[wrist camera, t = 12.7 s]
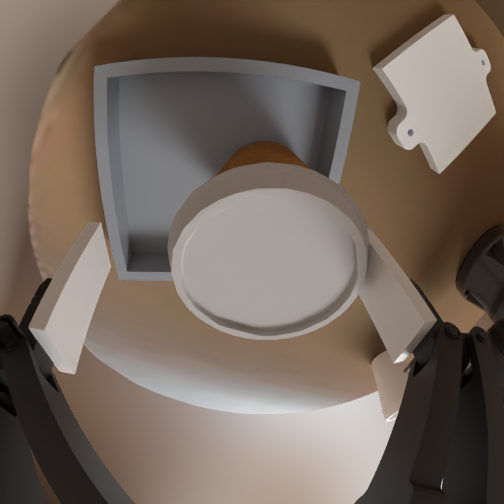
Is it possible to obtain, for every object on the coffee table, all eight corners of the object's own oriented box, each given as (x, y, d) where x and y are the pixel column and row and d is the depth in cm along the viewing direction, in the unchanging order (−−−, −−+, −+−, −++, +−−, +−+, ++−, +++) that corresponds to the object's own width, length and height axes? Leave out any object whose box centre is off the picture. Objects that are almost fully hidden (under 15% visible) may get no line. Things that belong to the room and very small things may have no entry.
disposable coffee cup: (181, 170, 21) (120, 264, 11) (277, 96, 17) (304, 119, 8) (254, 246, 25) (251, 362, 16) (343, 190, 22) (402, 292, 12)
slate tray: (340, 79, 18) (360, 81, 15) (302, 256, 28) (311, 279, 26) (111, 66, 15) (94, 66, 12) (126, 256, 25) (118, 279, 23)
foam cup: (357, 365, 47) (378, 421, 37) (395, 339, 44) (423, 396, 34) (375, 372, 52) (395, 420, 42) (409, 349, 48) (433, 397, 38)
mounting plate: (451, 8, 12) (463, 7, 11) (493, 99, 18) (503, 103, 17) (351, 83, 18) (362, 84, 17) (414, 181, 25) (424, 188, 23)
